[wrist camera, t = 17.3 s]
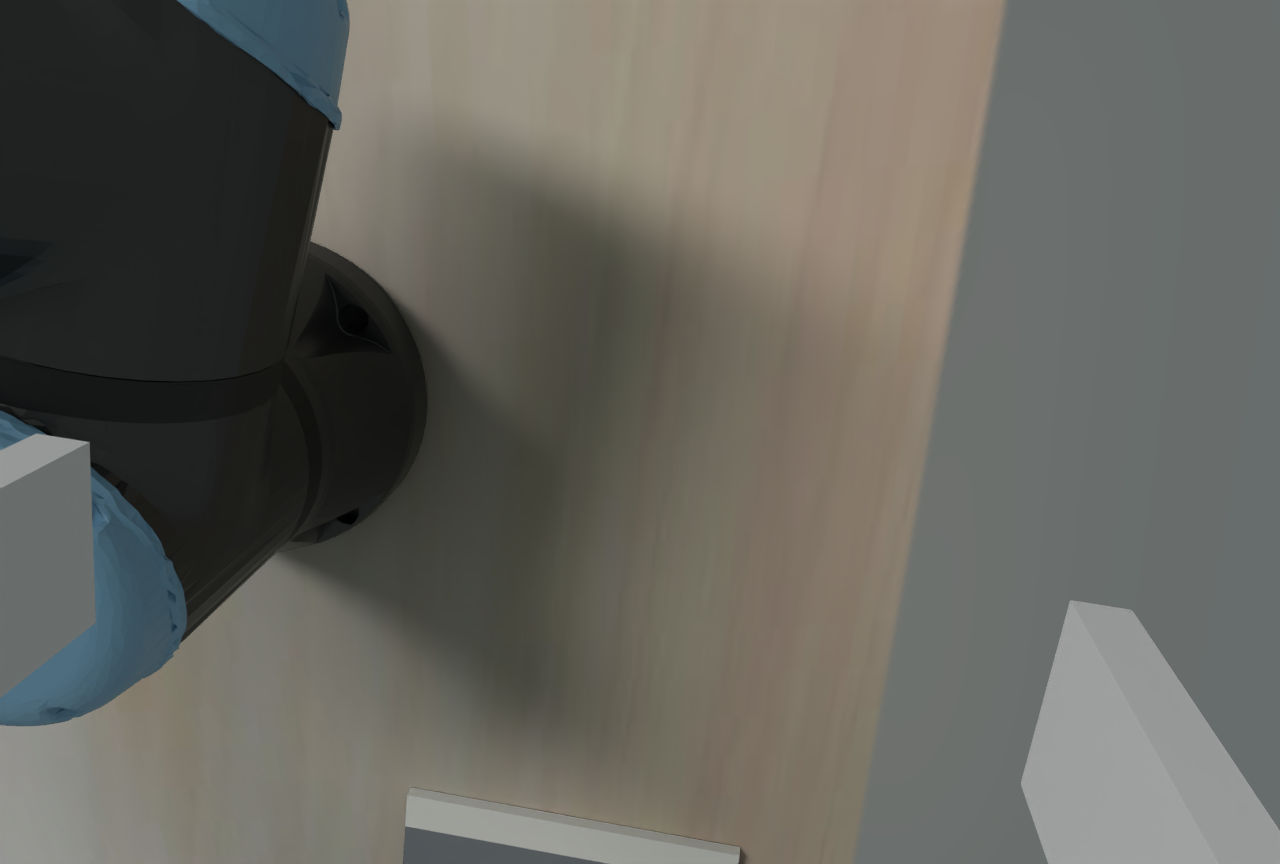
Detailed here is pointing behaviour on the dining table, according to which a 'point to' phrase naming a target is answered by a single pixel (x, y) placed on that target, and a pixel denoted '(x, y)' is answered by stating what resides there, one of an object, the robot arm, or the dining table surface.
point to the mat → (536, 837)
